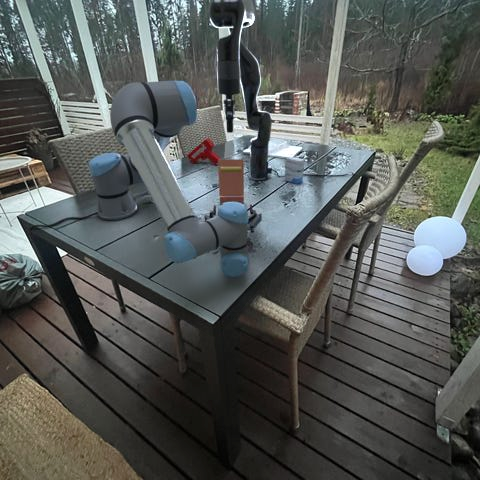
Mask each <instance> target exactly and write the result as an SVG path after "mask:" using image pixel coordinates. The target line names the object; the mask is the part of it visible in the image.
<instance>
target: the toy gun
mask: <svg viewBox="0 0 480 480" xmlns="http://www.w3.org/2000/svg"><path fill="white" fill-rule="evenodd" d="M213 148H215V143H214V142H212V140H211V138H209V137H208V138H205V139H204V140H203V141H201V143H199V144H198V145H196V147H195V148H194V149H193V150H191V151H190V152H189V153H188V154H187V155H186V157H187V159H188V160H189V161H190V162H191V163H192V164H194V163H197V162H198V161H199V160H200V159H201V160H202V161H205V160H209V161H210V162H211V163H212V165H213V166H215V165H217V164H218V160H221V156H220V155H218V154H217V153H216V152H214V151H213Z"/></svg>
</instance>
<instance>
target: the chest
mask: <svg viewBox="0 0 480 480" xmlns="http://www.w3.org/2000/svg"><path fill="white" fill-rule="evenodd" d="M227 202H238V203H241V204H243V205H245V195H244V196H219V207H220V206H221V205H222V204H224V203H227Z"/></svg>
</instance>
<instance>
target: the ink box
mask: <svg viewBox="0 0 480 480" xmlns="http://www.w3.org/2000/svg"><path fill="white" fill-rule="evenodd" d="M305 162H306V159H304V158H299V157H296V156H294V157H289V158H287V159H286V158H285V169H284V176H285V177H284V181H285V182H289V183H293V184H295V185H298V184H300V183H302V182H303V180H304V175H303V174H304V173H305V171H304V170H305Z"/></svg>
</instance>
